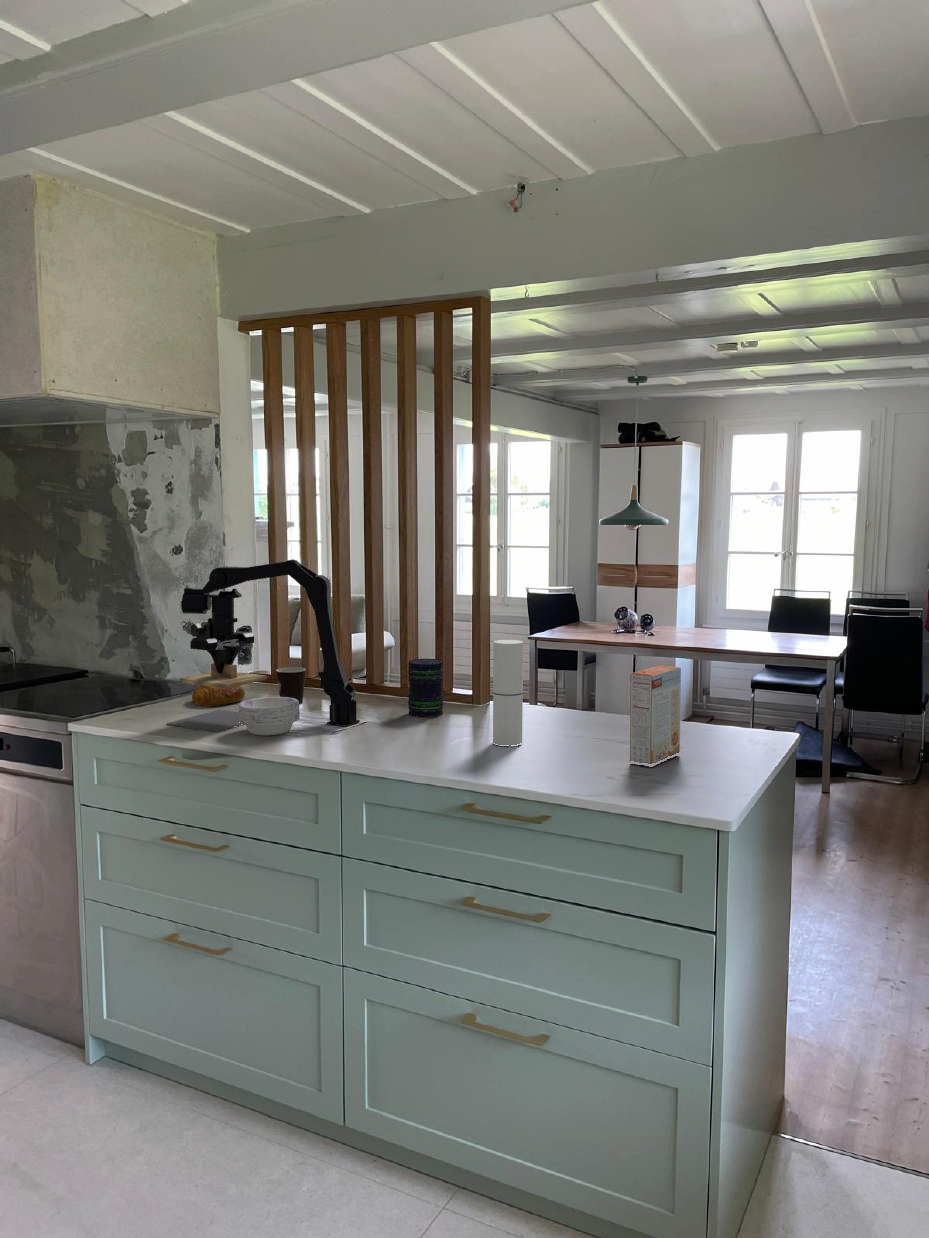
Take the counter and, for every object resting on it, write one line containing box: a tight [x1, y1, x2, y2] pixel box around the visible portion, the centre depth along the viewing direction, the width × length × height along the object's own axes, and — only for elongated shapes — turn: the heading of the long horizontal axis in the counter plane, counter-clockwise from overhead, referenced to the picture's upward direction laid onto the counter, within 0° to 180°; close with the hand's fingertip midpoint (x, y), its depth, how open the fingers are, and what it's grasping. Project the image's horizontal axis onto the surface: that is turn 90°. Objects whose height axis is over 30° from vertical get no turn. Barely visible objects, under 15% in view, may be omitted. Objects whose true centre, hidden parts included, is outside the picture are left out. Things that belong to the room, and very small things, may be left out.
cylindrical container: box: [492, 639, 524, 746], centre depth 225 cm, size 7×7×25 cm
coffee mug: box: [275, 667, 307, 706], centre depth 275 cm, size 12×9×10 cm
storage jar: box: [407, 658, 444, 719], centre depth 259 cm, size 10×10×15 cm
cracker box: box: [629, 664, 682, 764], centre depth 210 cm, size 14×6×21 cm, turn 141°
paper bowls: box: [238, 696, 301, 736], centre depth 237 cm, size 15×15×8 cm
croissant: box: [191, 685, 246, 708], centre depth 276 cm, size 14×16×8 cm
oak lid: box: [179, 662, 268, 688], centre depth 246 cm, size 16×16×4 cm
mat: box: [165, 709, 241, 733], centre depth 250 cm, size 18×20×1 cm
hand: (223, 672), depth 247 cm, fingers closed on oak lid, 2 cm apart
